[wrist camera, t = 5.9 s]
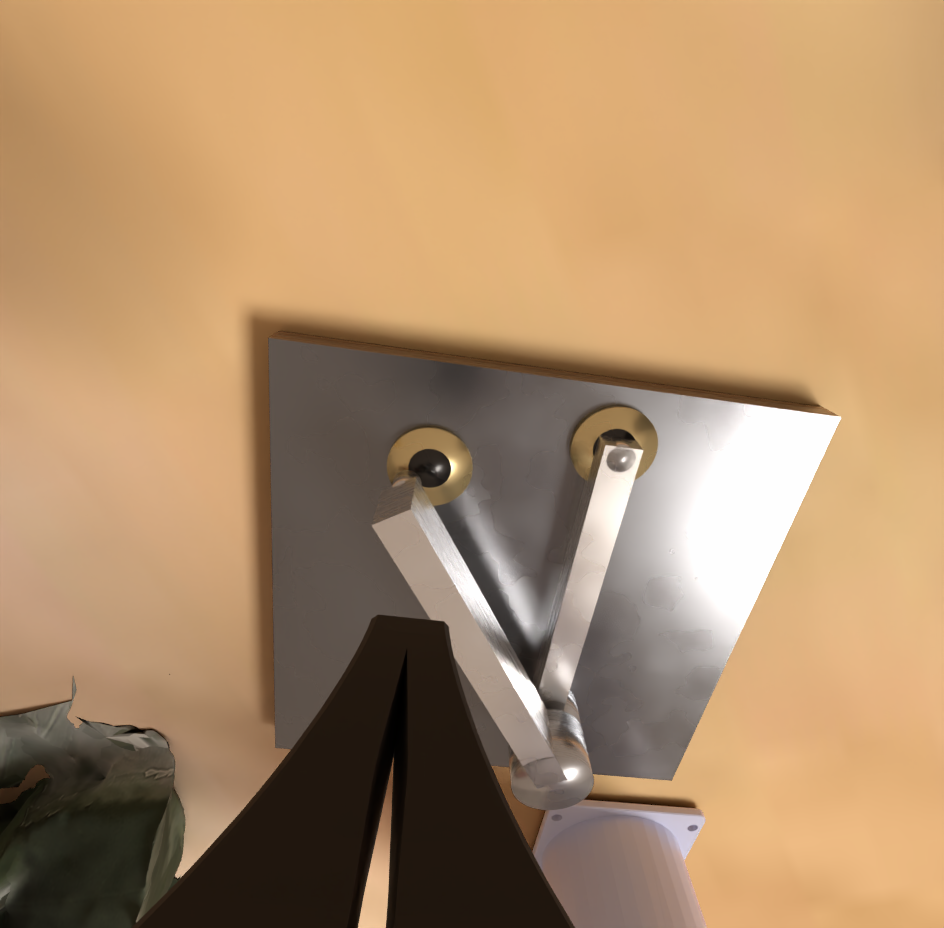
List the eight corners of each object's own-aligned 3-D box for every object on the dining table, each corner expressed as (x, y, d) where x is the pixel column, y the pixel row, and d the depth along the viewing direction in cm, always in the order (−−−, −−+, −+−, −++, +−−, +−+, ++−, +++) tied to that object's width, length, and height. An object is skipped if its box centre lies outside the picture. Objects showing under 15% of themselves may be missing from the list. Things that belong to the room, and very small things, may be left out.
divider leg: (588, 730, 22) (604, 796, 20) (522, 751, 23) (529, 818, 20) (443, 452, 17) (440, 495, 14) (359, 488, 17) (341, 535, 15)
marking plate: (664, 760, 26) (679, 802, 24) (282, 727, 24) (267, 769, 22) (821, 407, 18) (862, 428, 16) (279, 330, 17) (256, 345, 15)
